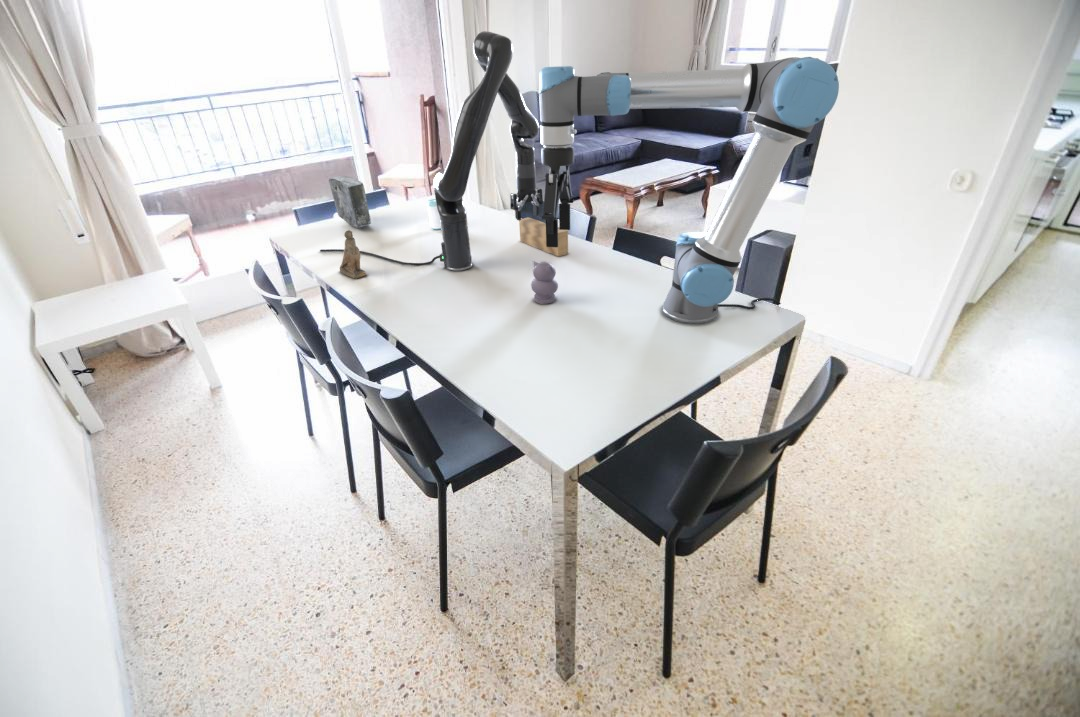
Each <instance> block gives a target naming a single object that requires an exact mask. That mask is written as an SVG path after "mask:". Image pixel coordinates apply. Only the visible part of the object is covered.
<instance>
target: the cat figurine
mask: <svg viewBox="0 0 1080 717" xmlns="http://www.w3.org/2000/svg"><path fill="white" fill-rule="evenodd" d="M532 265H533V269H532V276H533V277H534V278H533V279H532V281H531V283H530V286H531V290H532V291H533V292H534V295H533V297H534V302H535V303H537V304H542V305H547V304H551V303H553V302H554V301H555V300H556V298H555V297H556V292H557V291H558V289H559V283H558V281H557V279H556V278H555V276H556V273H557V272H556V267H555V266H554V265H553V264H552V263H550V262H548V261H541V262H537V261H535V260H532Z"/></svg>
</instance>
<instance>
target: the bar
mask: <svg viewBox="0 0 1080 717" xmlns="http://www.w3.org/2000/svg"><path fill="white" fill-rule="evenodd" d="M518 223H519V224H518V225H519V240H520V242H521V243H524V244H526V245H527V246H528V245H529V246H530V247H533V248H536V249H538V250H541V251H543V252H546V253H548V254H550V255H553V256H555V257H561V256H565V255H568V254H569V230H559V226H558V247H546V222H544V221H541V220H538V219H535V218H532V217H529V216H528V217H524V218H521V220H520V221H519V220H518Z"/></svg>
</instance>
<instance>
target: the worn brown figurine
mask: <svg viewBox="0 0 1080 717" xmlns="http://www.w3.org/2000/svg"><path fill="white" fill-rule="evenodd" d="M343 236H344V238H346V239H345V240H344V252H342V254H343V255H342V261H341V264H340V266H339V273H341V274H343V275H344V276H347V277H350V278H352V279H356V280H357V279H360V278H362V277H366V276H367V273H366V271H365V270H363V269H362V268H361V253H360V251H361V250H360V249H359V247H358V246H357V244H356V243H357V242H356V239H355V237H354V234H353V231H351V229H348V230H346V231H345V232H344V234H343Z"/></svg>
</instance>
